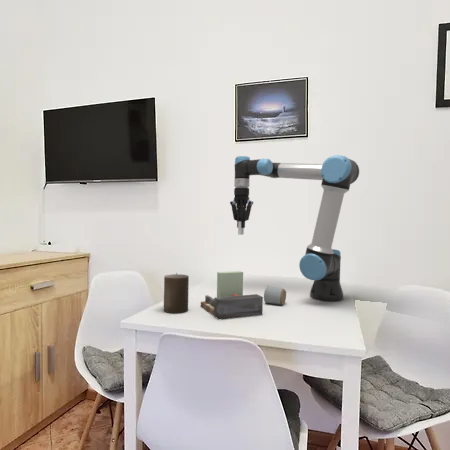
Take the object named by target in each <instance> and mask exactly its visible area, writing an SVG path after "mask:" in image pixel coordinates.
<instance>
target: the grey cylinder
mask: <svg viewBox="0 0 450 450" xmlns="http://www.w3.org/2000/svg"><path fill="white" fill-rule="evenodd" d="M263 292H264V293H263V301H264V303H265V304H270V305H271V304H272V305H277V306H278V305H279V306H282V305H284V304H285V303H286V299H287V291H286V289H285V288H283V287H278V286H274V285H266V287H265V288H264V291H263Z"/></svg>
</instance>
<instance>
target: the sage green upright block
mask: <svg viewBox="0 0 450 450" xmlns="http://www.w3.org/2000/svg"><path fill="white" fill-rule="evenodd" d="M216 273H217V275H216V278H217V279H216V297H228V296H232V295H233V294H237V295H238V296H240V295H244V293H243V292H244V272H243V271H241V270H235V271H217V272H216Z"/></svg>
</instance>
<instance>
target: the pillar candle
mask: <svg viewBox="0 0 450 450" xmlns="http://www.w3.org/2000/svg"><path fill="white" fill-rule="evenodd" d="M189 277H190V276H189V275H188V274H181V273H180V274H179V273H178V274H177V272H176V273H175V274H166V275H164V278H163V280H164V281H163V311H164V312H166V313H169V314H183V313H186V312H188V311H189V280H190V279H189Z"/></svg>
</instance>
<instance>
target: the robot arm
mask: <svg viewBox="0 0 450 450" xmlns="http://www.w3.org/2000/svg"><path fill="white" fill-rule="evenodd" d="M359 175H360V167H359V165H358V164H357V162H356V161H354V160H353V159H350V158H349V157H347V156H346V155H340V154H334V155H331V156H329V157H328V158H326V159H325V160H324V161H323V162H322V163H303V162H302V163H298V162H296V163H295V162H293V163H292V162H273V161H272V160H271V159H270V158H260V159H251V157H250V156H246V155H241V156H240V155H239V156H236V157H235V159H234V186H233V187H235V188H234V189H233V194H234V195H233V196H234V198H233V200H231V201H229V204H230V206H231V211H232V217H233V220H234V221H236V228H237V233H238V235H242V236H243V235H244V233H245V232H244V230H245V228H246V222H247V221H249V220H250V215H251V211H252V206H253V205H254V201H252V200H250V177H251V176H262V177H268V178H271V179H279V178H280V179H298V180H314V181H321V185H320V187H322V189H323V192H322V195H321V201H320V206H319V209H318V213H317V217H316V222H315V225H314V226H315V227H314V231H313V235H312V239H311V243H310V244H308V245H306V250H305V254H304V255H303V256H302V257H301V259H300V260H299V263H298V264H299V270H300V272H301V274H302V276H303V277H304V278H305V279H307V280H309V281H313V283H312V286H311V289H310V292H309V296H310V298H311V299H314V300H318V301H325V302H326V301H327V302H339V301H343V300H344V292H343V287H342V284H341V259H342V257H341V251H340V250H339V249H334V248H333V249H332V247H333V242H334V238H335V233H336V229H337V225H338V221H339V218H340V217H339V216H340V213H341V208H342V204H343V199H344V196H345V194H346V193H348V192H349V191H350V187H351V185H352V184H353V183H355V182H357V180H358V179H359Z"/></svg>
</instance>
